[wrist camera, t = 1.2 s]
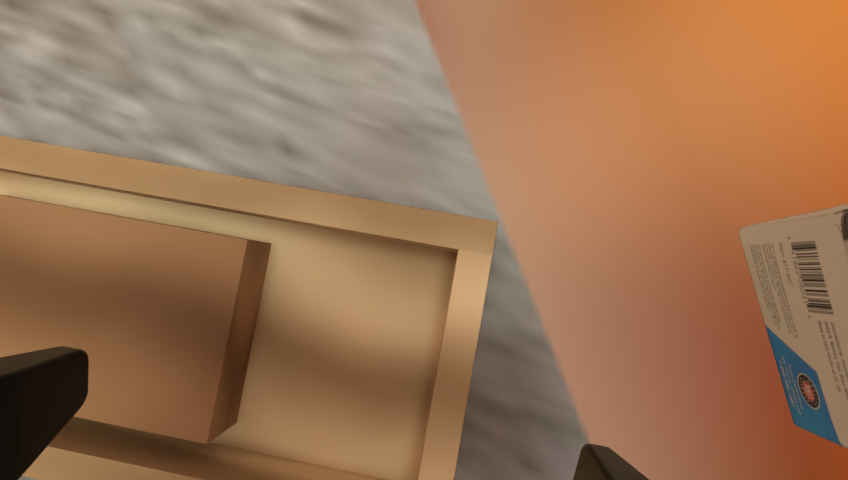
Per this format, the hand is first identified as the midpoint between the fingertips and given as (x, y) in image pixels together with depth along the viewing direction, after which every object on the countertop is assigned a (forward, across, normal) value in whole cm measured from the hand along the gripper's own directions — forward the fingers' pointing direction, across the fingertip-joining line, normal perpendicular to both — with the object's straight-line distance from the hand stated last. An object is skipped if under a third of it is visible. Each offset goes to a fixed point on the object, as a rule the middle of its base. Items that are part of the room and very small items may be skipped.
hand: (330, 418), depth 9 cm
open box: (+12, +8, +4) cm, 15 cm away
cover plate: (+11, +12, +4) cm, 17 cm away
